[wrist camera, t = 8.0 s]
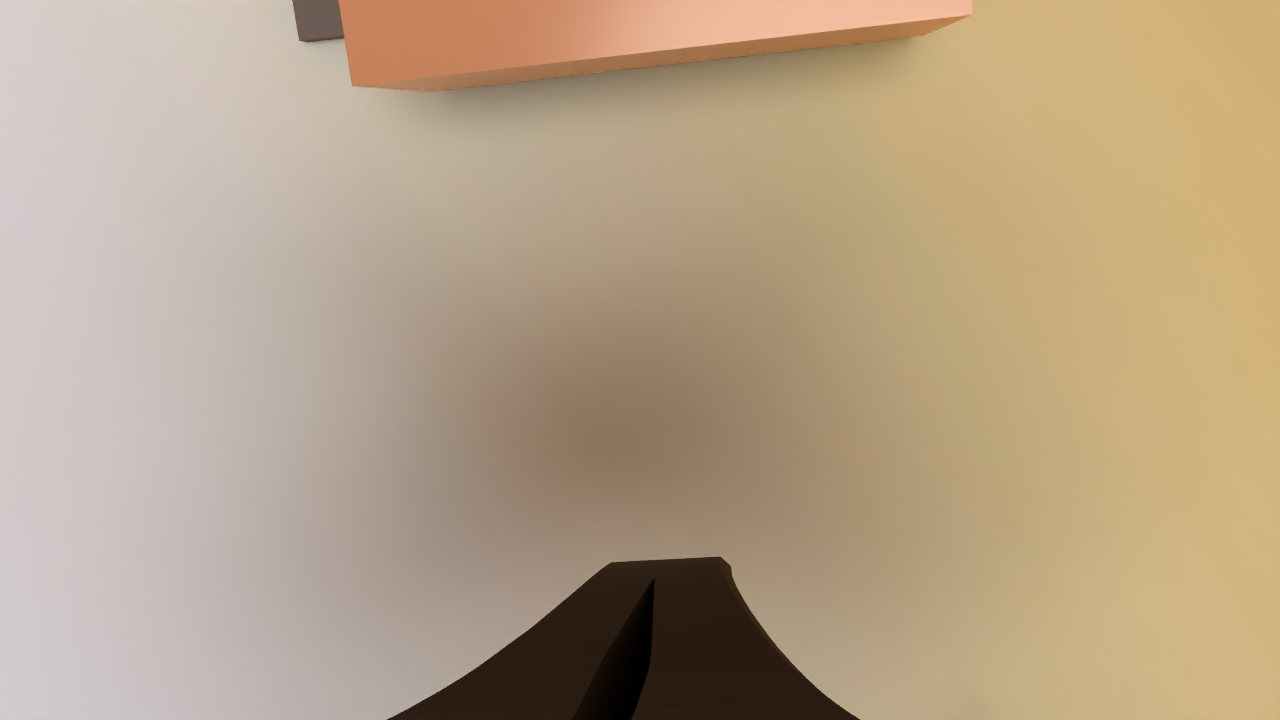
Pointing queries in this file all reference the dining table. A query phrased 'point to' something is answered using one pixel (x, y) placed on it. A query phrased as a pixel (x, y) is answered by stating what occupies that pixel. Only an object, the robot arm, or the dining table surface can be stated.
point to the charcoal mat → (318, 20)
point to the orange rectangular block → (602, 34)
